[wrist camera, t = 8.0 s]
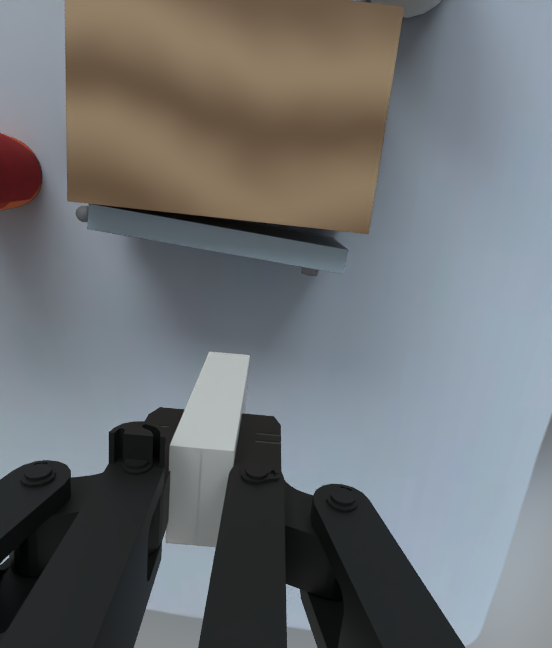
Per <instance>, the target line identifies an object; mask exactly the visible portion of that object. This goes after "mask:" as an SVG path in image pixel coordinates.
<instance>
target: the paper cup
mask: <svg viewBox="0 0 552 648" xmlns="http://www.w3.org/2000/svg"><path fill="white" fill-rule="evenodd" d="M41 183H42V171H41V166H40V163H39V161H38V159H37V157H36V156H35V154H34V153H33V151H32V150H31V149H30V148H29V147H28V146H26V145H25V144H24V143H22V142H21V141H19V140H17V139H15V138H12V137H10V136H7V135H4V134H1V133H0V210H4V209H9V208H14V207H18V206H22V205H24V204H26V203H28V202H30V201H31V200H32V199H34V197H35V196H36V195H37V194H38V192H39V190H40V187H41Z"/></svg>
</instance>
